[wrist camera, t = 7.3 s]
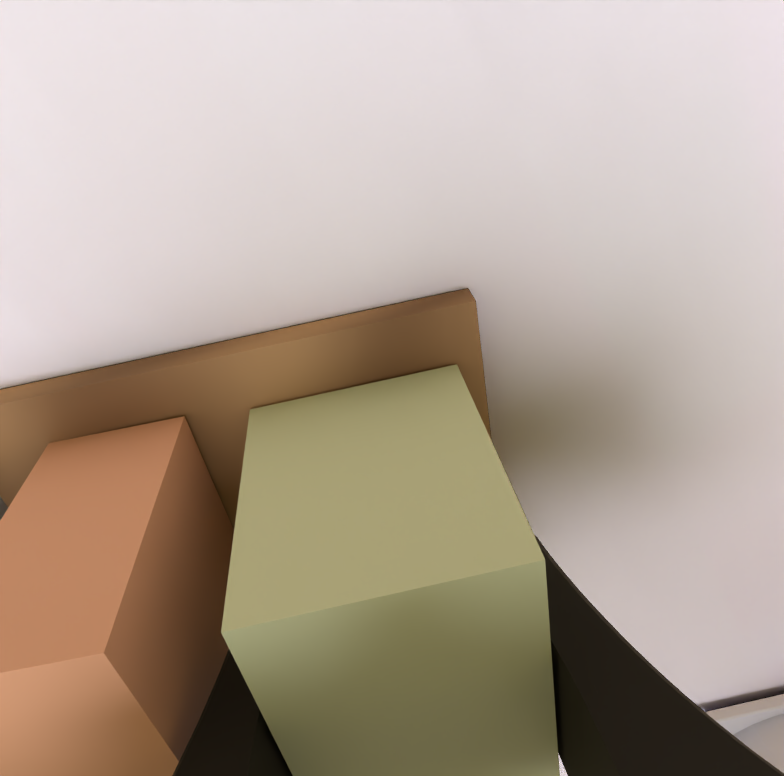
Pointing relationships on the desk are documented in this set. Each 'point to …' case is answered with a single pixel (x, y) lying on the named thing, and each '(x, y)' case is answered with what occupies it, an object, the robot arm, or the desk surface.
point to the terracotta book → (111, 604)
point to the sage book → (390, 588)
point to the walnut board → (241, 383)
